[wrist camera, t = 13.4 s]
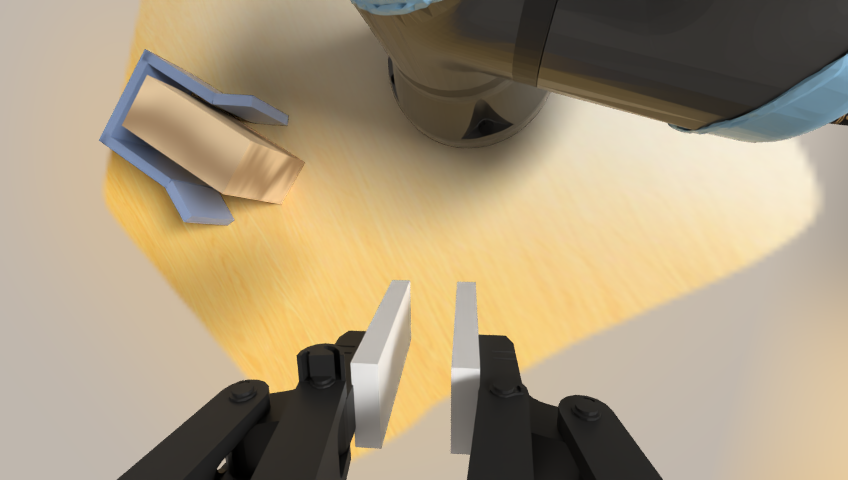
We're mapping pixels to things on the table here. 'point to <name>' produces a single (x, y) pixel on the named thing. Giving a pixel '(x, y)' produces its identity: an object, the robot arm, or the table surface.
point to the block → (211, 143)
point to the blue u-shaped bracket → (182, 186)
